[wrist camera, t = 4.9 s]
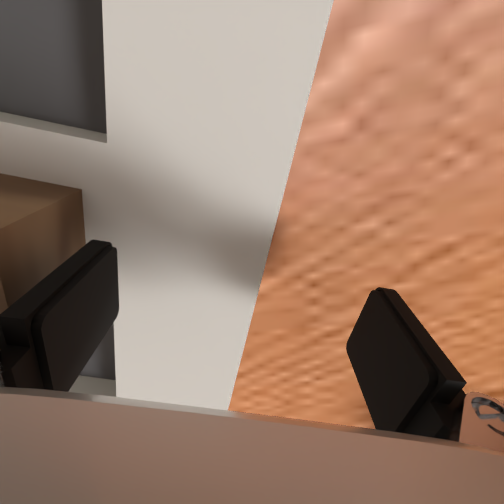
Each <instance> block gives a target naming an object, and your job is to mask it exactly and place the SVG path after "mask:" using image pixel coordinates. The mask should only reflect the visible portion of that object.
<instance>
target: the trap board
mask: <svg viewBox="0 0 504 504" xmlns="http://www.w3.org/2000/svg"><path fill="white" fill-rule="evenodd" d="M333 1H334V0H0V173H2V174H7V175H12V176H17V177H22V178H27V179H32V180H38V181H43V182H48V183H53V184H58V185H63V186H68V187H73V188H78V189H82V199H83V213H84V226H85V239H86V244H87V243H88V242H89V241H90V240H92V239H94V240H100V241H106V242H110V243H112V247H116V249H117V259H118V287H119V313H118V316H117V318H116V319H115V321H114V322H113V324H112V326H111V327H110V329H109V330H108V332H107V333H106V335H105V336H104V338H103V339H102V341H101V342H100V344H99V345H98V347H97V348H96V350H95V352H94V353H93V355H92V356H91V358H90V359H89V361H88V362H87V364H86V365H85V367H84V368H83V370H82V371H81V373H80V374H79V376H78V378H77V379H76V381H75V382H74V384H73V385H72V387H71V388H70V390H69V391H68V392H74V393H84V394H93V395H103V396H112V397H120V398H129V399H137V400H145V401H154V402H162V403H170V404H179V405H187V406H196V407H204V408H212V409H220V410H228V407H229V404H230V400H231V396H232V392H233V388H234V384H235V380H236V376H237V373H238V369H239V365H240V361H241V357H242V353H243V349H244V345H245V342H246V338H247V334H248V330H249V326H250V322H251V318H252V314H253V311H254V307H255V303H256V299H257V295H258V291H259V287H260V283H261V280H262V276H263V272H264V268H265V264H266V260H267V256H268V252H269V249H270V245H271V241H272V237H273V233H274V229H275V225H276V221H277V218H278V214H279V210H280V206H281V202H282V198H283V194H284V190H285V187H286V183H287V179H288V175H289V171H290V167H291V163H292V159H293V156H294V152H295V148H296V144H297V140H298V136H299V132H300V128H301V125H302V121H303V117H304V113H305V109H306V105H307V101H308V97H309V94H310V90H311V86H312V82H313V78H314V74H315V70H316V66H317V63H318V59H319V55H320V51H321V47H322V43H323V39H324V35H325V32H326V28H327V24H328V20H329V16H330V12H331V8H332V4H333Z"/></svg>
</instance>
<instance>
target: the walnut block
mask: <svg viewBox="0 0 504 504" xmlns="http://www.w3.org/2000/svg"><path fill="white" fill-rule="evenodd" d="M84 245H86V239H85V226H84V213H83V199H82V189H78V188H73V187H68V186H63V185H58V184H53V183H48V182H43V181H38V180H32V179H27V178H22V177H17V176H12V175H7V174H2V173H0V314H1V313H2V312H3V311H5V310H6V309H7V308H8V307H10V306H11V305H12V304H13V303H14V302H16V301H17V300H18V299H19V298H21V297H22V296H23V295H24V294H25V293H27V292H28V291H29V290H30V289H32V288H33V287H34V286H35V285H36V284H38V283H39V282H40V281H41V280H43V279H44V278H45V277H46V276H48V275H49V274H50V273H51V272H52V271H54V270H55V269H56V268H57V267H59V266H60V265H61V264H62V263H63V262H65V261H66V260H67V259H68V258H70V257H71V256H72V255H73V254H75V253H76V252H77V251H78V250H79V249H81V248H82V247H83V246H84Z"/></svg>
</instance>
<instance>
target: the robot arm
mask: <svg viewBox="0 0 504 504" xmlns="http://www.w3.org/2000/svg"><path fill="white" fill-rule="evenodd" d="M118 313H119V287H118V259H117V249H116V247H112V243H110V242H106V241H100V240H94V239H92V240H90V241H89V242H88V243H87V244H86V245H84V246H83V247H82V248H81V249H79V250H78V251H77V252H76V253H75V254H73V255H72V256H71V257H70V258H68V259H67V260H66V261H65V262H63V263H62V264H61V265H60V266H59V267H57V268H56V269H55V270H54V271H52V272H51V273H50V274H49V275H48V276H46V277H45V278H44V279H43V280H41V281H40V282H39V283H38V284H36V285H35V286H34V287H33V288H32V289H30V290H29V291H28V292H27V293H25V294H24V295H23V296H22V297H21V298H19V299H18V300H17V301H16V302H14V303H13V304H12V305H11V306H10V307H8V308H7V309H6V310H5V311H3V312H2V313H1V314H0V504H504V404H502V403H501V402H499V401H498V400H496V399H494V398H492V397H490V396H488V395H486V394H482V393H479V392H470V393H468V394H465V393H464V391H463V390H462V388H463V387H464V386H465V384H466V383H467V382H466V381H465V380H464V379H463V377H462V376H461V375H460V373H459V372H458V371H457V369H456V368H455V367H454V366H453V364H452V363H451V362H450V360H449V359H448V358H447V356H446V355H445V354H444V353H443V351H442V350H441V349H440V347H439V346H438V345H437V343H436V342H435V341H434V340H433V338H432V337H431V336H430V334H429V333H428V332H427V330H426V329H425V328H424V327H423V325H422V324H421V323H420V321H419V320H418V319H417V317H416V316H415V315H414V314H413V312H412V311H411V310H410V308H409V307H408V306H407V304H406V303H405V302H404V301H403V299H402V298H401V297H400V295H399V294H398V293H397V292H396V291H395V290H393V289H387V288H381V287H379V288H377V289H376V290H373V291H371V293H370V294H369V297H368V299H367V301H366V303H365V305H364V307H363V309H362V311H361V314H360V316H359V318H358V320H357V322H356V324H355V326H354V329H353V331H352V333H351V335H350V337H349V339H348V341H347V345H346V349H347V353H348V356H349V359H350V361H351V364H352V367H353V369H354V372H355V375H356V377H357V380H358V383H359V385H360V388H361V390H362V393H363V396H364V398H365V401H366V404H367V406H368V409H369V412H370V414H371V417H372V420H373V422H374V425H375V428H376V429H368V428H361V427H353V426H346V425H338V424H330V423H323V422H315V421H307V420H300V419H292V418H284V417H276V416H268V415H260V414H252V413H244V412H236V411H228V410H220V409H212V408H204V407H196V406H187V405H179V404H170V403H162V402H154V401H145V400H137V399H129V398H120V397H112V396H103V395H93V394H84V393H74V392H68V391H69V390H70V388H71V387H72V385H73V384H74V382H75V381H76V379H77V378H78V376H79V374H80V373H81V371H82V370H83V368H84V367H85V365H86V364H87V362H88V361H89V359H90V358H91V356H92V355H93V353H94V352H95V350H96V348H97V347H98V345H99V344H100V342H101V341H102V339H103V338H104V336H105V335H106V333H107V332H108V330H109V329H110V327H111V326H112V324H113V322H114V321H115V319H116V318H117V316H118Z"/></svg>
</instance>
